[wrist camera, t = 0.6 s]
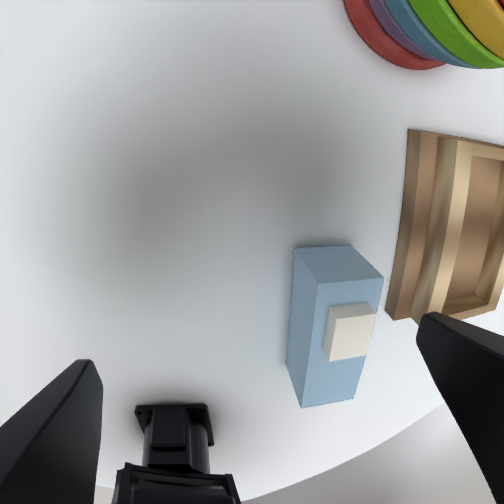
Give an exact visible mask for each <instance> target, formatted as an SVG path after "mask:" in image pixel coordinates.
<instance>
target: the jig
mask: <svg viewBox="0 0 504 504" xmlns="http://www.w3.org/2000/svg"><path fill="white" fill-rule="evenodd" d="M503 285H504V146H500V145H496V144H491V143H487V142H482V141H477V140H472V139H467V138H462V137H456V136H451V135H445V134H439V133H432V132H426V131H419V130H411V129H408V144H407V160H406V174H405V185H404V195H403V204H402V213H401V221H400V228H399V235H398V242H397V248H396V255H395V261H394V266H393V272H392V277H391V283H390V288H389V293H388V298H387V303H386V307H385V311H386V312H387V314H388V315H389V316H390V317H391V318H392V320H393V321H394V320H400V319H405V318H409V317H411V318H412V319H413V320H414V321H415V322H416V323H417V324H418V326H419V324H420V319H421V317H422V315H423V314H425V313H429V312H433V311H436V312H439V313H441V314H444V315H447V316H450V317H452V318H455V319H458V320H462V319H466V318H469V317H473V316H476V315H480V314H483V313H486V312H490V311H493V310H495V309H496V306H497V303H498V301H499V298H500V295H501V292H502V288H503Z"/></svg>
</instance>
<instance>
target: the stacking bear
mask: <svg viewBox="0 0 504 504" xmlns="http://www.w3.org/2000/svg"><path fill="white" fill-rule="evenodd" d="M345 5H346V9H347V12H348V14H349V17H350V19H351V21H352V23H353V24H354V26H355V28H356V29H357V31H358V32H359V34H360V35H361V36H362V38H363V39H364V40H365V41H366V42H367V43H368V44H369V45H370V46H371V47H372V48H373V49H374V50H375V51H376V52H377V53H378V54H380V55H381V56H383V57H384V58H385V59H387V60H388V61H390V62H392V63H394V64H396V65H398V66H401V67H404V68H407V69H412V70H426V69H431V68H435V67H439V66H441V65H444V64H451V65H455V66H460V67H466V68H473V69H494V68H502V67H504V0H345Z"/></svg>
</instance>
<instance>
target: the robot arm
mask: <svg viewBox="0 0 504 504" xmlns="http://www.w3.org/2000/svg"><path fill="white" fill-rule="evenodd" d="M416 343H417V346H418V348H419V350H420V352H421V354H422V356H423V359H424V361H425V363H426V365H427V367H428V369H429V372H430V374H431V376H432V378H433V380H434V382H435V384H436V386H437V388H438V390H439V392H440V393H441V395H442V397H443V399H444V400H445V402H446V404H447V406H448V407H449V409H450V411H451V413H452V415H453V416H454V418H455V420H456V422H457V424H458V426H459V428H460V429H461V431H462V433H463V435H464V437H465V439H466V441H467V443H468V445H469V447H470V449H471V450H472V452H473V454H474V456H475V458H476V460H477V462H478V464H479V466H480V468H481V470H482V473H483V475H484V477H485V479H486V481H487V483H488V485H489V488H490V489H491V492H492V494H493V497H494V499H495V501H496V504H504V336H502V335H499V334H496V333H494V332H491V331H488V330H485V329H483V328H480V327H477V326H474V325H472V324H469V323H466V322H463V321H461V320H458V319H455V318H452V317H450V316H447V315H444V314H441V313H439V312H436V311H433V312H429V313H425V314H423V315H422V317H421V319H420V324H419V328H418V331H417V335H416ZM102 403H103V384H102V381H101V379H100V376H99V374H98V372H97V370H96V367H95V365H94V363H93V361H92V360H90V359H79V360H76V361H75V362H73V363H72V364H71V365H70V366H69V367H68V368H66V369H65V370H64V371H63V372H62V373H61V374H60V375H58V376H57V377H56V378H55V379H54V380H53V381H51V382H50V383H49V384H48V385H47V386H46V387H45V388H43V389H42V390H41V391H40V392H39V393H38V394H37V395H36V396H34V397H33V398H32V399H31V400H30V401H29V402H28V403H26V404H25V405H24V406H23V407H22V408H21V409H20V410H19V411H17V412H16V413H15V414H14V415H13V416H12V417H11V418H10V419H9V420H7V421H6V422H5V423H4V424H3V425H2V426H1V427H0V504H93V503H94V491H95V482H96V473H97V465H98V457H99V450H100V442H101V424H102ZM201 409H202V410H201ZM135 415H136V417H137V420H138V422H139V424H140V426H141V429H142V431H143V433H144V435H145V436H144V447H143V459H142V466H139V465H133V464H132V463H127V462H125V467H124V468H123V469H121V470H117V476H116V484H115V490H114V494H113V499H112V503H111V504H241V502H240V499H239V496H238V492H237V489H236V486H235V483H234V479H233V476H232V474H225V475H220V474H210V466H209V453H208V447H210V446H213V445H214V439H213V434H212V428H211V423H210V418H209V412H208V407H207V406H206V405H204V404H198V405H177V406H137V407H136V408H135Z"/></svg>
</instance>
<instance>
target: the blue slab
mask: <svg viewBox="0 0 504 504" xmlns="http://www.w3.org/2000/svg"><path fill="white" fill-rule="evenodd" d="M383 281H384V277H383V276H382V275H381V274H380V273H379V272H378V271H377V270H376V269H375V268H374V267H373V266H372V265H371V264H370V263H369V262H368V261H367V260H366V259H365V258H364V257H363V256H361V255H360V254H359V253H358V252H357V251H356V250H355V249H354V248H353V247H352V246H351V245H339V246H320V247H302V248H294V260H293V276H292V292H291V306H290V320H289V333H288V345H287V357H286V366H287V369H288V371H289V374H290V377H291V380H292V383H293V386H294V389H295V392H296V395H297V398H298V401H299V404H300V407H301V408H306V407H312V406H318V405H323V404H329V403H334V402H339V401H344V400H349V399H353V398H354V395H355V392H356V389H357V385H358V382H359V379H360V375H361V372H362V368H363V365H364V361H365V358H366V354H367V351H368V347H369V343H370V339H371V335H372V331H373V327H374V323H375V318H376V314H377V309H378V305H379V300H380V295H381V291H382V286H383Z"/></svg>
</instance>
